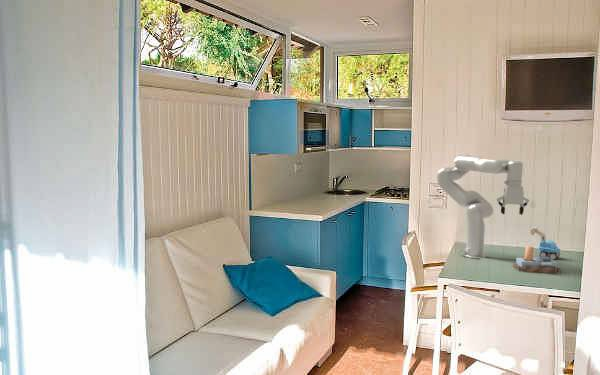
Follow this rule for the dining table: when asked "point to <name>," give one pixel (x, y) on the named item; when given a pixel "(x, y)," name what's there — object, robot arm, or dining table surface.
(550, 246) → the toy excavator
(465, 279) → the dining table surface
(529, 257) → the tail peg
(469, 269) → the dining table surface
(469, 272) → the dining table surface
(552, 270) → the cradle
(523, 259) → the pale blue peg socket
